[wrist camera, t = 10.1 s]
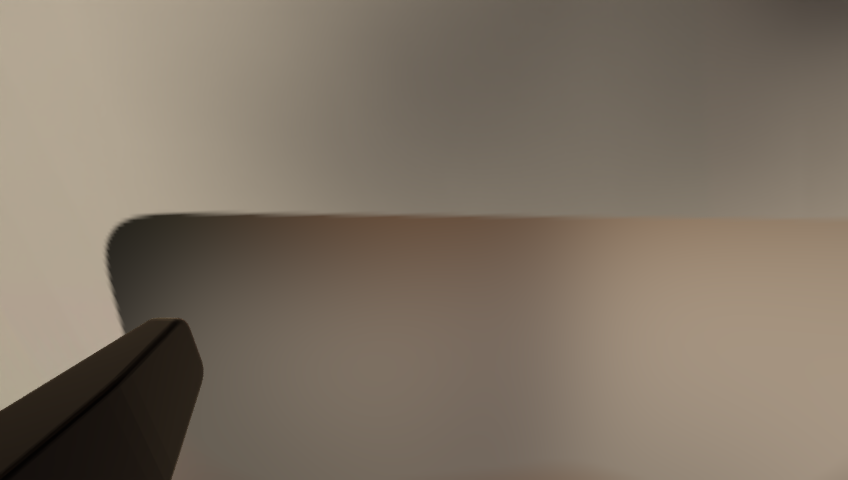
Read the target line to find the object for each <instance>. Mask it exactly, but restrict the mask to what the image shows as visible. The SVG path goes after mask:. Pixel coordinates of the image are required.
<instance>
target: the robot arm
mask: <svg viewBox="0 0 848 480" xmlns="http://www.w3.org/2000/svg"><path fill="white" fill-rule="evenodd" d="M202 380H203V364H202V360H201V357H200V354H199V352H198V349H197V346H196V344H195V341H194V338H193V335H192V332H191V330H190V327H189V325H188V323H187V322H186V321H185V320H183V319H181V318H153V319H150V320H148V321H146V322H145V323H143V324H142V325H140V326H139V327H137V328H135V329H133V330H132V331H130V332H129V333H127V334H125V335H124V336H122V337H120V338H119V339H117V340H115V341H114V342H112V343H111V344H109V345H107V346H106V347H104V348H102V349H101V350H99V351H97V352H96V353H94V354H93V355H91V356H89V357H88V358H86V359H84V360H83V361H81V362H79V363H78V364H76V365H75V366H73V367H71V368H70V369H68V370H66V371H65V372H63V373H62V374H60V375H58V376H57V377H55V378H53V379H52V380H50V381H48V382H47V383H45V384H44V385H42V386H40V387H39V388H37V389H35V390H34V391H32V392H31V393H29V394H27V395H26V396H24V397H22V398H21V399H19V400H17V401H16V402H14V403H13V404H11V405H9V406H8V407H6V408H4V409H3V410H1V411H0V480H171V479H172V476H173V473H174V470H175V467H176V464H177V461H178V457H179V454H180V451H181V448H182V445H183V441H184V438H185V435H186V432H187V429H188V425H189V422H190V419H191V416H192V413H193V409H194V407H195V403H196V400H197V397H198V394H199V391H200V387H201V384H202Z"/></svg>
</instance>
